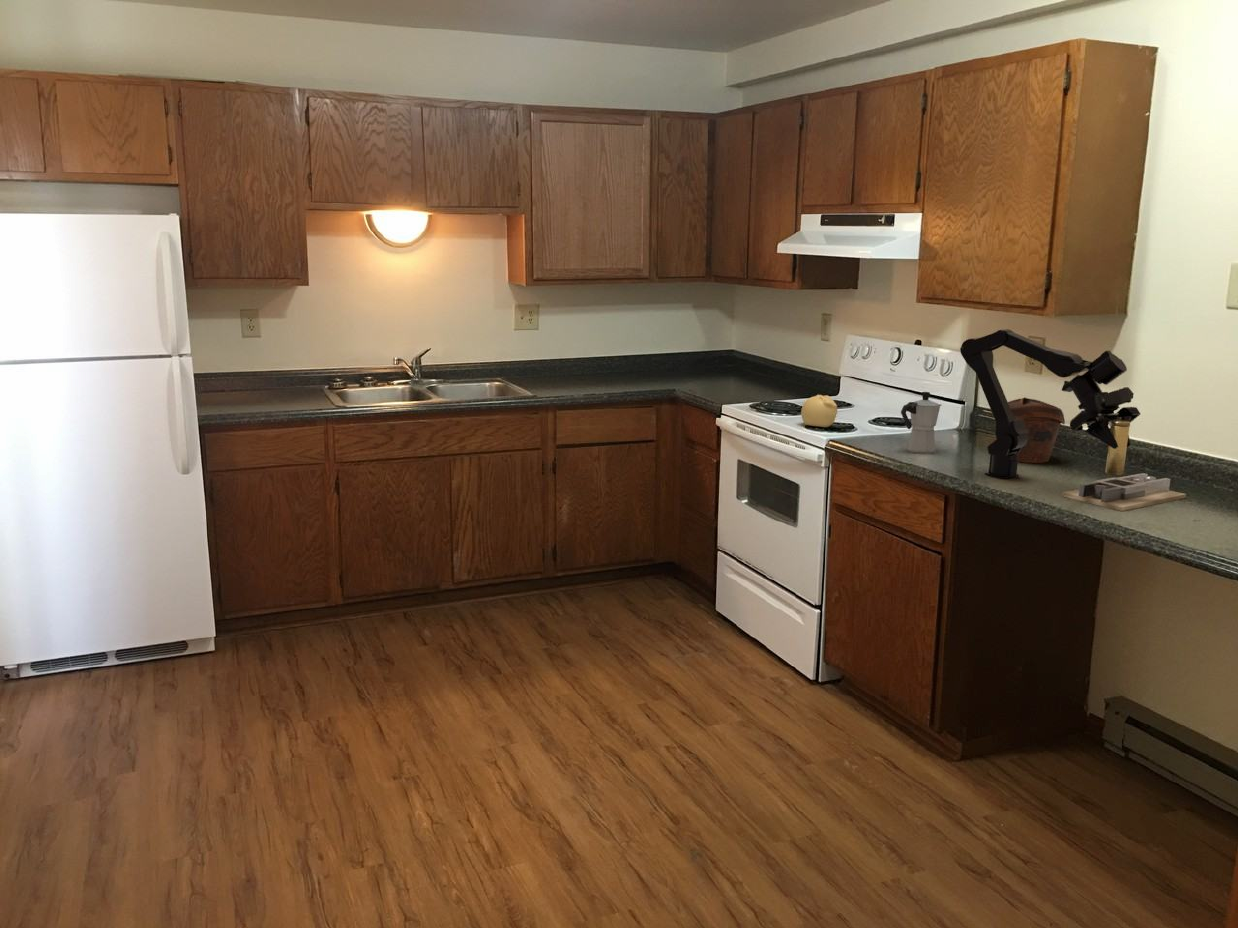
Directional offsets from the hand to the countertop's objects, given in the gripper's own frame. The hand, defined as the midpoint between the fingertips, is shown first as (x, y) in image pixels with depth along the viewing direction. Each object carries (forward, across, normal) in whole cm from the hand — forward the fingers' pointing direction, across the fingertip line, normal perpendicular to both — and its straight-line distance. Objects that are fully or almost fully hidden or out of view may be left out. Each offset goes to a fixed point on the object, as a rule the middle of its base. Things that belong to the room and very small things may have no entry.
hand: (1122, 447), depth 245 cm
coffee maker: (-36, -5, +56) cm, 67 cm away
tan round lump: (-68, -9, +88) cm, 111 cm away
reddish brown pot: (-23, +18, +42) cm, 51 cm away
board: (+8, +6, +11) cm, 15 cm away
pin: (+4, 0, +6) cm, 7 cm away
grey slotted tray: (+7, +6, +10) cm, 14 cm away
